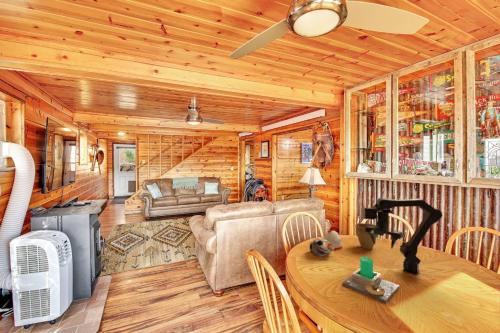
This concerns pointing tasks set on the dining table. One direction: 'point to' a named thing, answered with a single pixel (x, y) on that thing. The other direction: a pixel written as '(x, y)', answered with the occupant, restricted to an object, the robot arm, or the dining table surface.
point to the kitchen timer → (333, 238)
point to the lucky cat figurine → (321, 247)
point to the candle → (366, 267)
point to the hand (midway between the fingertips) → (383, 246)
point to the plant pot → (364, 235)
